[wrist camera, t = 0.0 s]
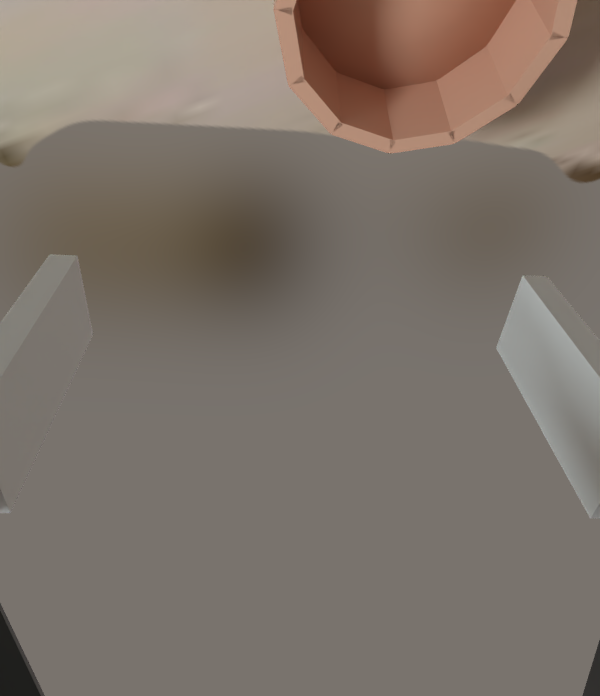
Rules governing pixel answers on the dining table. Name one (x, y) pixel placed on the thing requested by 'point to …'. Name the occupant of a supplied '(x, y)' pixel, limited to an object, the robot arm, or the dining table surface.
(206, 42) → the dining table surface
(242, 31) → the dining table surface
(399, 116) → the terracotta bowl
